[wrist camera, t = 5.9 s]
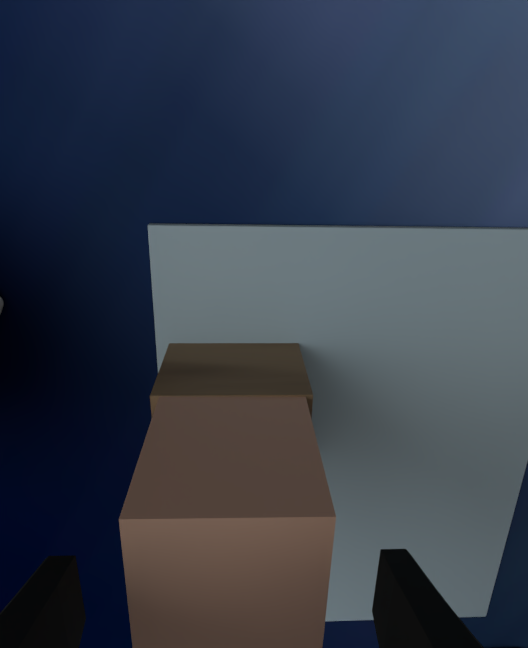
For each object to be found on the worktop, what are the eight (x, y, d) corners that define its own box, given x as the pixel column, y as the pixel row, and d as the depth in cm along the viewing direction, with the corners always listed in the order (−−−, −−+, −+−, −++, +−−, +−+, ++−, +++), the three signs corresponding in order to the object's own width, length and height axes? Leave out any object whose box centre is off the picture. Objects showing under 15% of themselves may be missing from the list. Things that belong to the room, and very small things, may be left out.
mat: (482, 609, 25) (485, 616, 24) (177, 618, 24) (176, 625, 23) (581, 228, 17) (589, 230, 17) (149, 223, 17) (147, 225, 16)
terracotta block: (297, 510, 16) (320, 661, 11) (166, 512, 16) (134, 666, 11) (305, 396, 14) (336, 517, 10) (159, 396, 14) (118, 519, 10)
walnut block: (293, 450, 20) (305, 520, 16) (175, 451, 20) (160, 523, 16) (298, 343, 18) (313, 394, 14) (169, 343, 18) (150, 395, 14)
